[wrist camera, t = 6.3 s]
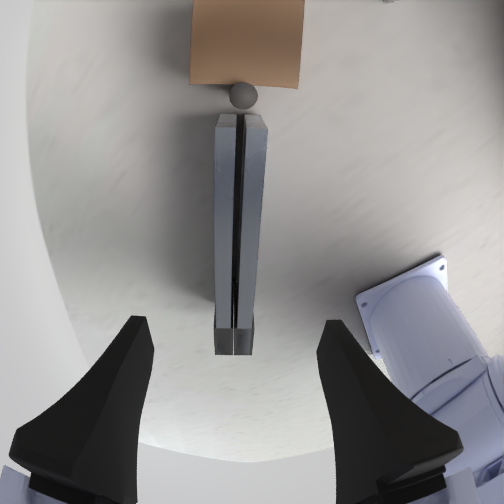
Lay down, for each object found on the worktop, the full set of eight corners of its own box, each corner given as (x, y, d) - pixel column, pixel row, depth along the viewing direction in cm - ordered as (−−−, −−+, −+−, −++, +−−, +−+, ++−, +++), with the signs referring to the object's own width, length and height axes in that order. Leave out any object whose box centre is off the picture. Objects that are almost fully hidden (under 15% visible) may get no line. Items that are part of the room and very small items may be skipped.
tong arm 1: (217, 113, 14) (210, 127, 11) (239, 114, 14) (240, 127, 11) (217, 308, 21) (214, 354, 18) (232, 308, 22) (232, 355, 18)
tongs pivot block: (206, 7, 11) (193, -20, 7) (286, 11, 11) (308, -14, 7) (202, 98, 14) (186, 108, 10) (280, 101, 14) (298, 113, 10)
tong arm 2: (241, 114, 14) (242, 128, 11) (263, 115, 14) (271, 129, 11) (233, 308, 22) (233, 355, 18) (249, 308, 22) (251, 355, 18)
